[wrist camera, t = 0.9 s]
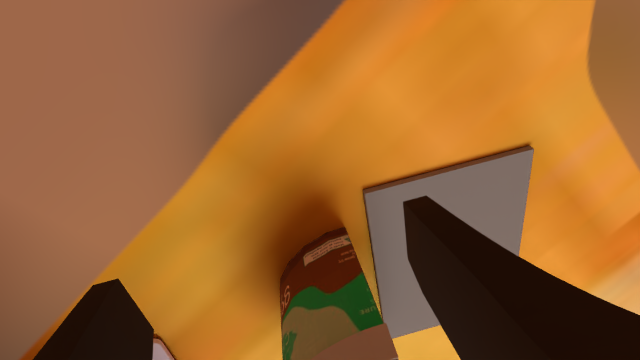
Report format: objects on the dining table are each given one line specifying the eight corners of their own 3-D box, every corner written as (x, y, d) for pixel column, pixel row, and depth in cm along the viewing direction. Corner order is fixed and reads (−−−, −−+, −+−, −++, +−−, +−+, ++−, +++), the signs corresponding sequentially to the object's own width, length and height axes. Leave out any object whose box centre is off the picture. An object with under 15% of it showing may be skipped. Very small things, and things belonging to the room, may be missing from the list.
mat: (384, 335, 30) (386, 340, 30) (362, 189, 22) (364, 194, 22) (508, 300, 31) (511, 304, 30) (529, 145, 23) (533, 148, 23)
